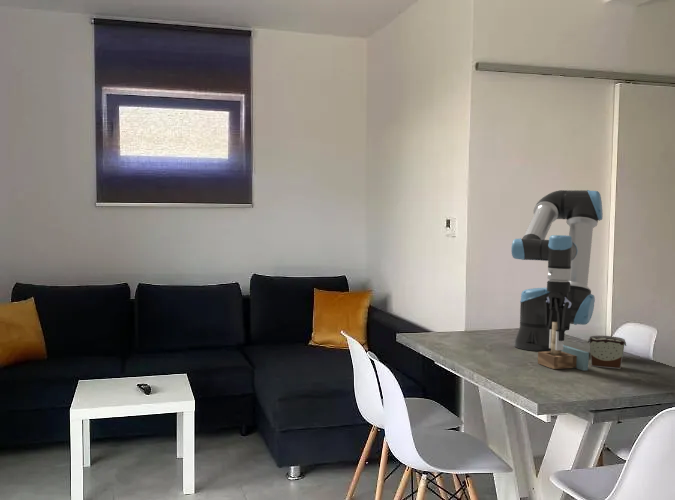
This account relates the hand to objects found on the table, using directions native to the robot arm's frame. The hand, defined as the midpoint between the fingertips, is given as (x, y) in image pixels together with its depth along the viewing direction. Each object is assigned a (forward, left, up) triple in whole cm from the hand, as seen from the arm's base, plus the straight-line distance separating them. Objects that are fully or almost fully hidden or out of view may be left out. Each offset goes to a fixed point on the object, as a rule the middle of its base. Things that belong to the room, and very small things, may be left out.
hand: (556, 348), depth 234 cm
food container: (-18, +3, -6) cm, 19 cm away
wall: (-6, 0, -6) cm, 9 cm away
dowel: (0, 0, -5) cm, 5 cm away
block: (-1, 0, -6) cm, 6 cm away
